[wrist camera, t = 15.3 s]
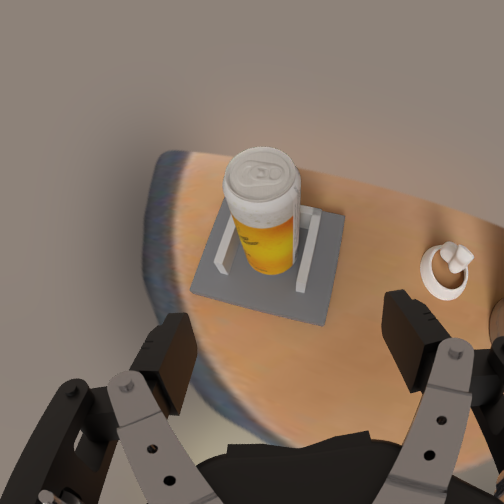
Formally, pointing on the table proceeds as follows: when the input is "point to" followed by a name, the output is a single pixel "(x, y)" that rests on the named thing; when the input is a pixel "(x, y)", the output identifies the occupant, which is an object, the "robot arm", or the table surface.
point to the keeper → (280, 285)
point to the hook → (456, 261)
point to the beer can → (265, 207)
